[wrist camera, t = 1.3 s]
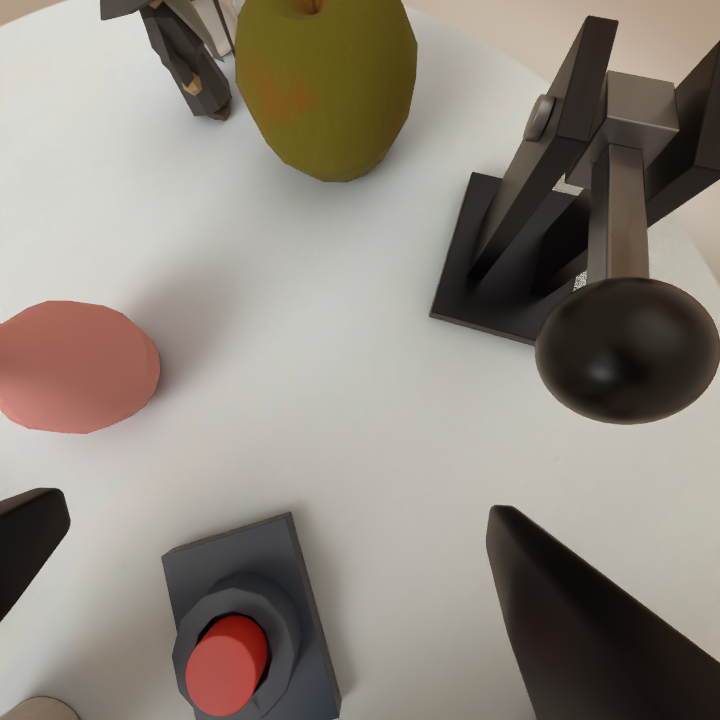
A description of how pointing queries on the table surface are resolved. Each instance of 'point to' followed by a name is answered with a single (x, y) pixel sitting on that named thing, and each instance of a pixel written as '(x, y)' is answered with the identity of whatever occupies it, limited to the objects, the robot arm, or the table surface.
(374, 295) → the table surface
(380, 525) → the table surface
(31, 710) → the coffee cup
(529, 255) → the bracket
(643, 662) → the robot arm
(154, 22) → the wizard figurine
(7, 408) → the pink vase
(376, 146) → the apple
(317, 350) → the table surface
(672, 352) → the lever
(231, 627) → the button
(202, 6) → the pill bottle
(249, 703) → the control block
